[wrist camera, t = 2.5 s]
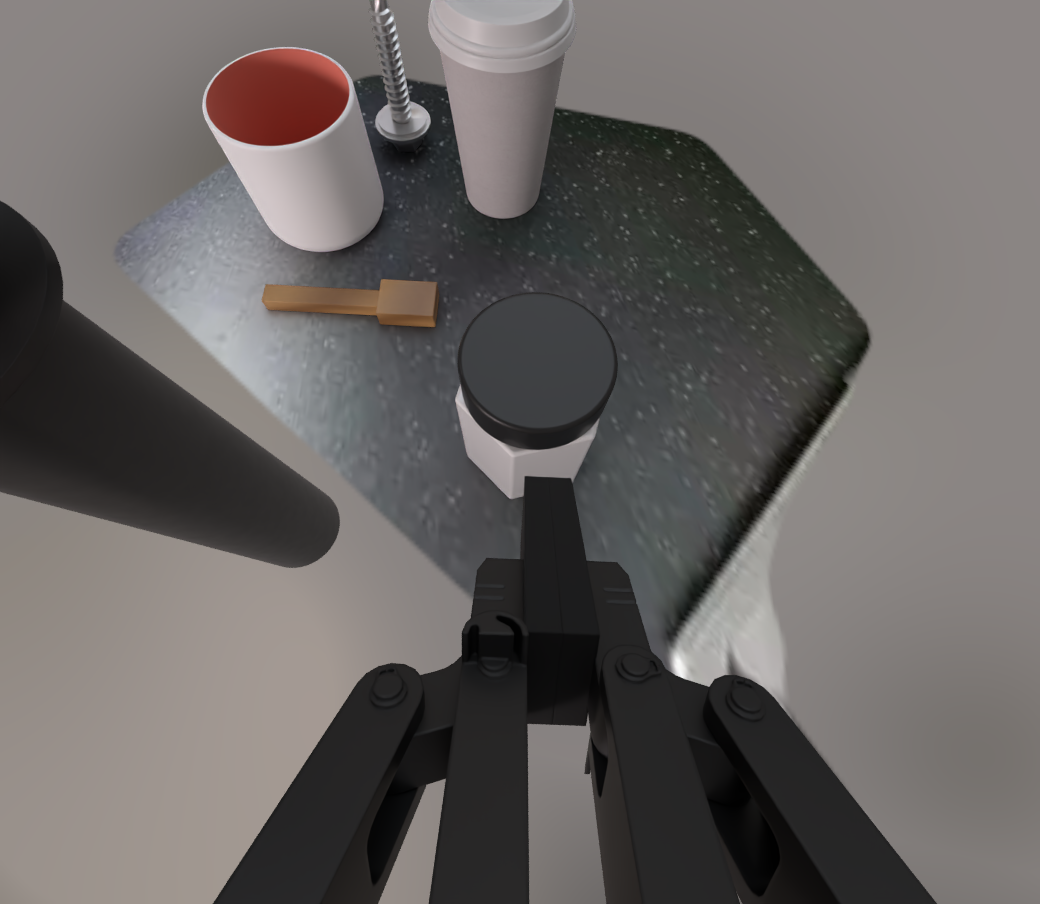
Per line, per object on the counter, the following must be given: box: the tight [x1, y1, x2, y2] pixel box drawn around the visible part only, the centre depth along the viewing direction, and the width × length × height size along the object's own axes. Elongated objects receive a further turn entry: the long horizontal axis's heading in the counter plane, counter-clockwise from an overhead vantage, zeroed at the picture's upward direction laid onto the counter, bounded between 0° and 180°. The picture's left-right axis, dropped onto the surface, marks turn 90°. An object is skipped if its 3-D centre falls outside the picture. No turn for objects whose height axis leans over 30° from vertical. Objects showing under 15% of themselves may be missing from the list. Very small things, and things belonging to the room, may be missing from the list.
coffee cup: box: [428, 0, 576, 219], centre depth 37 cm, size 10×10×15 cm
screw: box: [369, 0, 431, 152], centre depth 39 cm, size 13×5×5 cm
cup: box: [203, 47, 384, 252], centre depth 38 cm, size 10×10×10 cm
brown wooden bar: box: [262, 279, 439, 327], centre depth 38 cm, size 13×3×2 cm, turn 88°
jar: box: [455, 292, 618, 499], centre depth 30 cm, size 9×8×12 cm
